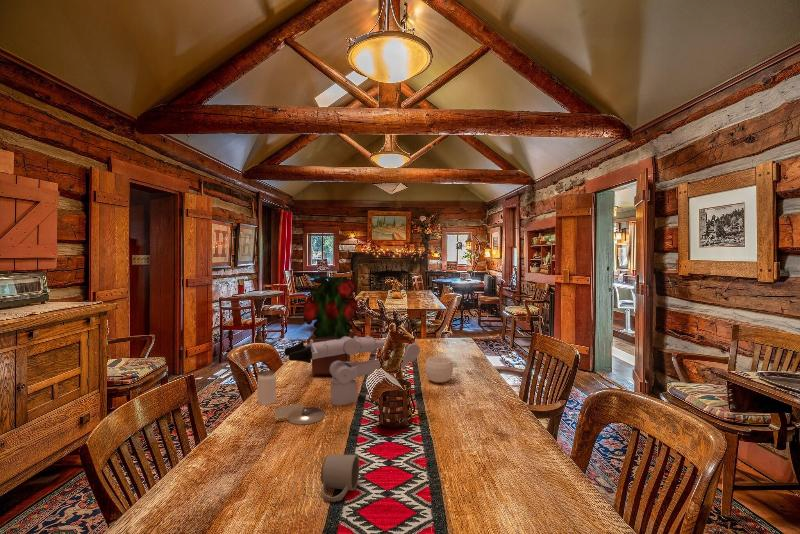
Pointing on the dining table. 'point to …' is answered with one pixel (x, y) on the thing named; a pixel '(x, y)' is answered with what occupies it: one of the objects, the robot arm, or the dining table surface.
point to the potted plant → (330, 316)
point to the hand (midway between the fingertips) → (286, 354)
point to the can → (266, 387)
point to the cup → (439, 369)
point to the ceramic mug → (339, 474)
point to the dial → (299, 414)
